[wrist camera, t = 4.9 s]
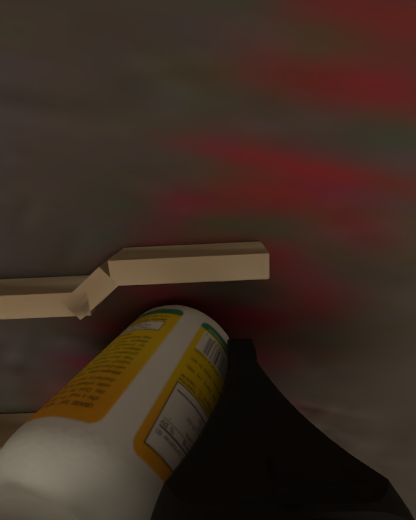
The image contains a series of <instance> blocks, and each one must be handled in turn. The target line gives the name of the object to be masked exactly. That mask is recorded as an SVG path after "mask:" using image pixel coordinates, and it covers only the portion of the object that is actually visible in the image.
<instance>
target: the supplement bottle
mask: <svg viewBox="0 0 416 520" xmlns="http://www.w3.org/2000/svg"><path fill="white" fill-rule="evenodd" d="M227 339H229V337H228V336H227V334H226V333H225V332H224V330H223V329H222V328H221V327H220V326H219V325H218V324H217V323H216V322H215V321H214V320H213V319H211V318H210V317H209V316H207V315H206V314H204V313H202V312H200V311H198V310H196V309H193V308H190V307H186V306H181V305H166V306H160V307H156V308H153V309H151V310H148V311H146V312H145V313H143V314H142V315H141V316H139V317H138V318H137V319H136V320H135V321H134V322H133V323H131V324H130V325H129V326H128V327H127V328H126V329H125V330H124V331H123V332H122V333H121V334H120V335H119V336H118V337H117V338H116V339H115V340H113V341H112V342H111V343H110V344H109V345H108V346H107V347H106V348H105V349H104V350H103V351H102V352H101V353H100V354H99V355H97V356H96V357H95V358H94V359H93V360H92V361H91V362H90V363H89V364H88V365H87V366H86V367H85V368H84V369H82V370H81V371H80V372H79V373H78V374H77V375H76V376H75V377H74V378H73V379H72V380H71V381H70V382H69V383H67V384H66V385H65V386H64V387H63V388H62V389H61V390H60V391H59V392H58V393H57V394H56V395H55V396H53V397H52V398H51V399H50V400H49V401H48V402H47V403H46V404H45V405H44V406H42V407H41V408H40V409H39V410H38V411H37V412H36V413H35V414H34V415H33V416H32V417H31V418H30V419H29V420H28V421H26V422H25V423H24V424H23V425H22V426H21V427H20V428H19V429H18V430H17V431H16V432H15V433H14V434H13V435H12V436H11V437H10V438H9V439H8V441H7V442H6V443H5V444H4V446H3V447H2V449H1V450H0V520H150V518H151V515H152V512H153V510H154V507H155V504H156V501H157V499H158V497H159V494H160V492H161V489H162V487H163V484H164V482H165V481H166V480H167V479H168V477H169V476H170V475H171V474H172V472H173V471H174V470H175V468H176V467H177V466H178V465H179V463H180V462H181V461H182V460H183V458H184V457H185V456H186V454H187V453H188V451H189V450H190V448H191V447H192V445H193V444H194V442H195V441H196V439H197V438H198V436H199V435H200V433H201V432H202V430H203V428H204V427H205V425H206V423H207V421H208V419H209V418H210V416H211V414H212V412H213V410H214V408H215V406H216V404H217V402H218V400H219V397H220V395H221V393H222V390H223V388H224V385H225V382H226V379H227V377H228V374H229V367H228V349H227Z"/></svg>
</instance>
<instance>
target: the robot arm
mask: <svg viewBox="0 0 416 520" xmlns="http://www.w3.org/2000/svg"><path fill="white" fill-rule="evenodd" d="M227 349H228V367H229V374H228V377H227V379H226V382H225V385H224V388H223V390H222V393H221V395H220V397H219V400H218V402H217V404H216V406H215V408H214V410H213V412H212V414H211V416H210V418H209V419H208V421H207V423H206V425H205V427H204V428H203V430H202V432H201V433H200V435H199V436H198V438H197V439H196V441H195V442H194V444H193V445H192V447H191V448H190V450H189V451H188V453H187V454H186V456H185V457H184V458H183V460H182V461H181V462H180V463H179V465H178V466H177V467H176V468H175V470H174V471H173V472H172V474H171V475H170V476H169V477H168V479H167V480H166V481H165V482H164V484H163V487H162V489H161V492H160V494H159V497H158V499H157V501H156V504H155V507H154V510H153V512H152V515H151V518H150V520H414V518H413V516H412V514H411V513H410V511H409V509H408V508H407V506H406V505H405V503H404V502H403V500H402V499H401V497H400V496H399V494H398V493H397V492H396V490H395V489H394V487H393V486H392V484H391V483H390V481H389V480H388V479H387V478H385V477H384V476H382V475H381V474H379V473H378V472H376V471H375V470H373V469H372V468H370V467H369V466H367V465H366V464H364V463H362V462H361V461H359V460H358V459H356V458H355V457H353V456H352V455H351V454H349V453H348V452H347V451H345V450H344V449H343V448H341V447H340V446H339V445H337V444H336V443H335V442H333V441H332V440H331V439H329V438H328V437H327V436H326V435H325V434H323V433H322V432H321V431H320V430H319V429H318V428H316V427H315V426H314V425H313V424H312V423H310V422H309V421H308V420H307V419H306V418H305V417H304V416H303V415H302V414H301V413H300V412H299V411H298V410H297V409H296V408H295V407H294V406H293V405H292V404H291V403H290V402H289V401H288V400H287V399H286V398H285V397H284V396H283V395H282V393H281V392H280V391H279V390H278V389H277V388H276V386H275V385H274V384H273V383H272V382H271V380H270V379H269V378H268V376H267V375H266V374H265V372H264V371H263V370H262V368H261V367H260V365H259V364H258V363H257V359H256V351H255V347H254V344H253V342H252V340H251V339H227Z"/></svg>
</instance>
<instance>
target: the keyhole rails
mask: <svg viewBox="0 0 416 520" xmlns="http://www.w3.org/2000/svg"><path fill="white" fill-rule="evenodd" d="M269 254H270V253H269V252H268V251H267V249H266V248H265V247H264V246H263V244H262V243H261V242H260V241H256V242H235V243H214V244H193V245H172V246H151V247H130V248H123V249H121V250H120V251H119V252H118V253H116V254H114V255H113V256H112V257H111V258H109V259H108V260H107V261H106V262H104V263H103V264H102V265H101V266H100V267H98V268H97V269H96V270H95V271H94V272H93V273H92V274H91V275H85V276H63V277H41V278H19V279H0V319H19V318H42V317H65V316H77V317H78V318H79V319H80V320H81V319H82V318H84V317H85V316H89V315H92V314H93V312H94V311H95V310H96V309H97V308H98V307H99V305H100V304H101V303H102V302H103V301H104V300H105V298H106V297H107V296H108V295H109V294H110V293H111V292H112V291H113V290H114V289H115V288H116V287H118V286H122V285H144V284H167V283H189V282H211V281H233V280H256V279H269ZM34 414H35V413H18V414H0V450H1V449H2V447H3V446H4V444H5V443H6V442H7V441H8V439H9V438H10V437H11V436H12V435H13V434H14V433H15V432H16V431H17V430H18V429H19V428H20V427H21V426H22V425H23V424H24V423H25V422H26V421H28V420H29V419H30V418H31V417H32V416H33V415H34Z"/></svg>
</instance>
